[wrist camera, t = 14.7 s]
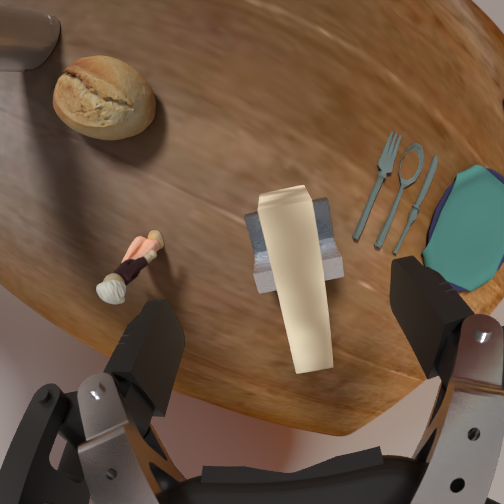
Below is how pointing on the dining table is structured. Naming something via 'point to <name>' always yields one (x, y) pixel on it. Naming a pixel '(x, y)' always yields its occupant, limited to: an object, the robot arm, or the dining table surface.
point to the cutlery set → (452, 221)
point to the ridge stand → (326, 242)
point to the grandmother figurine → (130, 267)
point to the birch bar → (298, 274)
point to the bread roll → (104, 98)
